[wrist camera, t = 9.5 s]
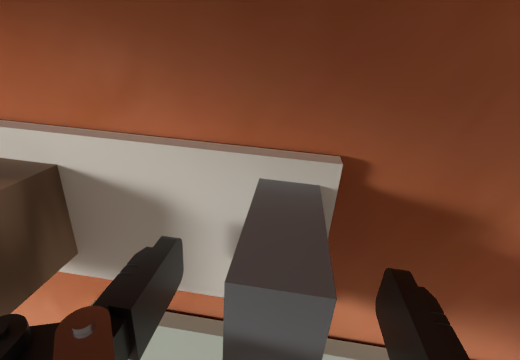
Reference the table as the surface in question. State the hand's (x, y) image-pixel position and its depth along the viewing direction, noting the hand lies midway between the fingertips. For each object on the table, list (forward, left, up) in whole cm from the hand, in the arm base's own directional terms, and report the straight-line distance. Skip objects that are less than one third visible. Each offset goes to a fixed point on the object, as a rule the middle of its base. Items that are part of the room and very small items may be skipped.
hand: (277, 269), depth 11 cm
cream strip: (0, -11, -3) cm, 11 cm away
